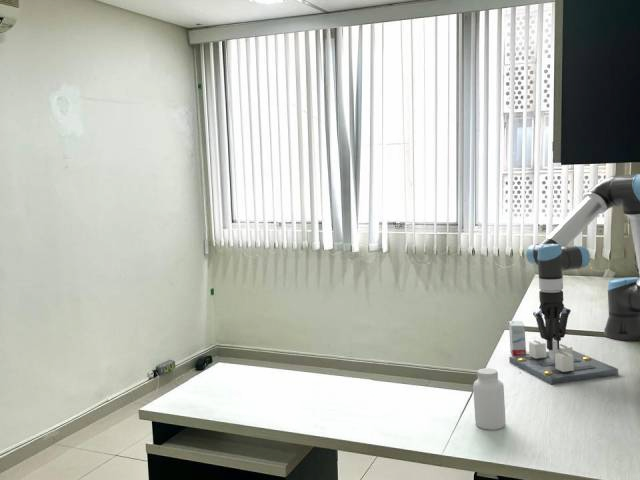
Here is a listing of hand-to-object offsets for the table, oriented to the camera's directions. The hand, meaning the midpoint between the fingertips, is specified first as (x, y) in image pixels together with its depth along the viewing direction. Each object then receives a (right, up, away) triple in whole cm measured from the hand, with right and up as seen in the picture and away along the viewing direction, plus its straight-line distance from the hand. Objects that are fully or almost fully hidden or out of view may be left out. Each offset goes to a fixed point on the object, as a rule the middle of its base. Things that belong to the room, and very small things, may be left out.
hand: (553, 358), depth 204 cm
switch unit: (+3, -3, +1) cm, 5 cm away
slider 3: (0, -2, -8) cm, 8 cm away
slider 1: (-3, -1, +8) cm, 8 cm away
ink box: (-5, -2, +21) cm, 21 cm away
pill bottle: (-33, -10, -41) cm, 54 cm away
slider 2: (+4, -1, +1) cm, 4 cm away
